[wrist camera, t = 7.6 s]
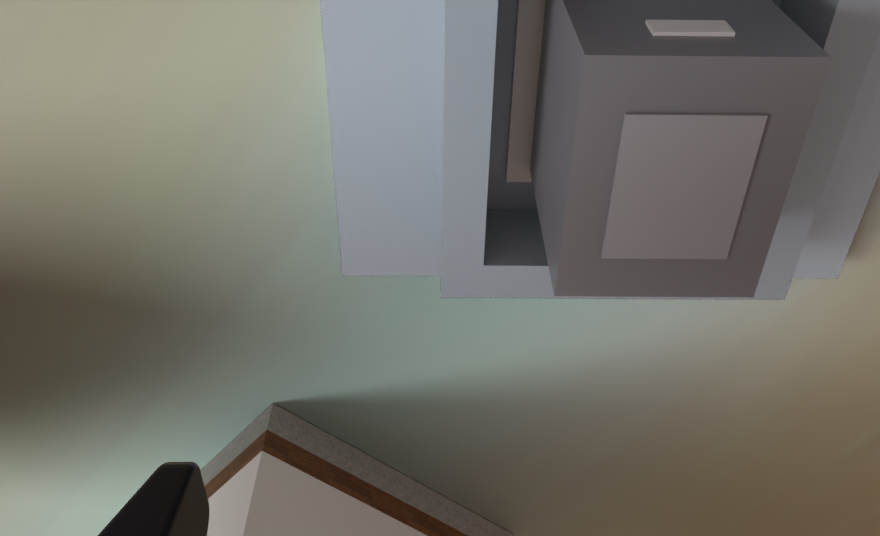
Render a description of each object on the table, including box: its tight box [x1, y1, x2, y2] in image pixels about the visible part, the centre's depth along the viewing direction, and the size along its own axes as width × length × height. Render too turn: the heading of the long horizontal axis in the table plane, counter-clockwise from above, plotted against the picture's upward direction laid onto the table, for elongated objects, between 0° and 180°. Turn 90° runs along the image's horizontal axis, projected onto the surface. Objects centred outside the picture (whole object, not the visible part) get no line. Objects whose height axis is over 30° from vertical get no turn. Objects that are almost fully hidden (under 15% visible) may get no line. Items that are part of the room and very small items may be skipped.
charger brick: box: [530, 0, 831, 297], centre depth 16 cm, size 4×5×5 cm
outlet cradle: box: [320, 0, 880, 300], centre depth 18 cm, size 14×12×4 cm
